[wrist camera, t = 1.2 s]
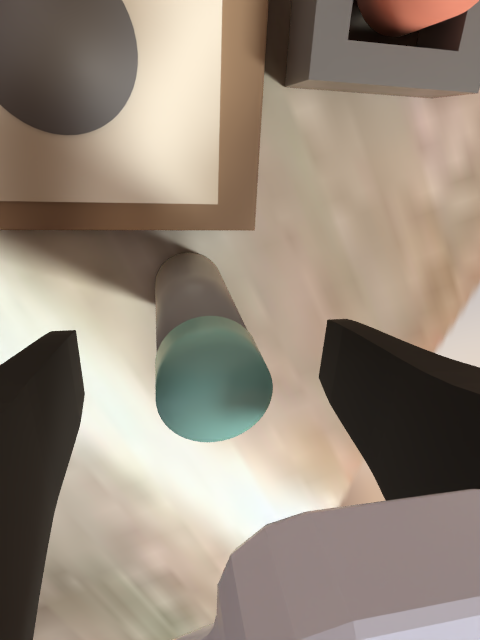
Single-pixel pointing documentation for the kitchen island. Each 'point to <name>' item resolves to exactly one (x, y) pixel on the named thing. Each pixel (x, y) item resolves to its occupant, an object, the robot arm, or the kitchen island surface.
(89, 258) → the kitchen island surface
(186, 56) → the board
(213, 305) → the marker
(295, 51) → the button housing
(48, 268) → the kitchen island surface
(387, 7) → the button
